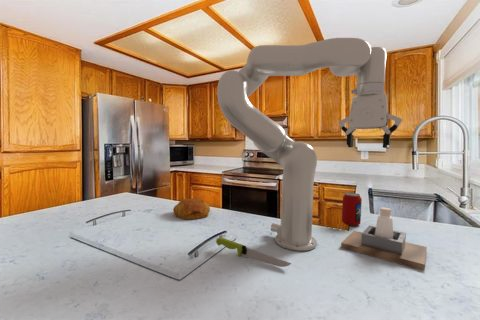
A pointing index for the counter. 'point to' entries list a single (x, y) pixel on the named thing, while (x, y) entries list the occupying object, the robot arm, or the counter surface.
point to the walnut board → (410, 255)
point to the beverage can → (351, 209)
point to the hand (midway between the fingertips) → (367, 147)
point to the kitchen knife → (251, 253)
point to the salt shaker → (384, 224)
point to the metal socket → (384, 241)
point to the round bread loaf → (191, 209)
